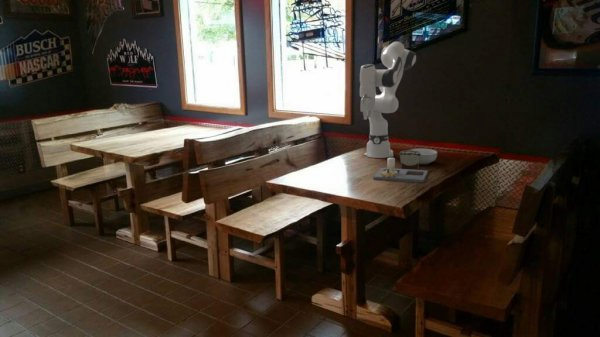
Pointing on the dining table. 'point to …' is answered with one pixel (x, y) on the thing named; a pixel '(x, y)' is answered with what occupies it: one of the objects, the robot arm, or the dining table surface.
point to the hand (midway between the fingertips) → (367, 118)
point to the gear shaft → (391, 165)
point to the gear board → (401, 175)
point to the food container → (410, 159)
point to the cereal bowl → (426, 155)
